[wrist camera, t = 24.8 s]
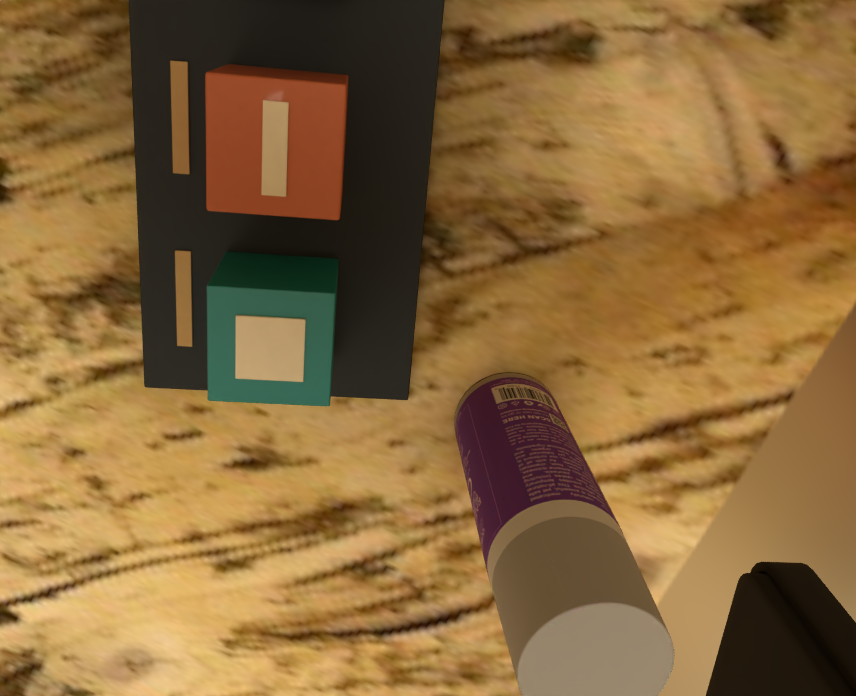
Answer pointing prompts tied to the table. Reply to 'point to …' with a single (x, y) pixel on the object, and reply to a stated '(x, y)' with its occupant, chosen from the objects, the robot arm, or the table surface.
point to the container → (555, 550)
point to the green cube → (271, 329)
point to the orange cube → (275, 141)
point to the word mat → (278, 235)
